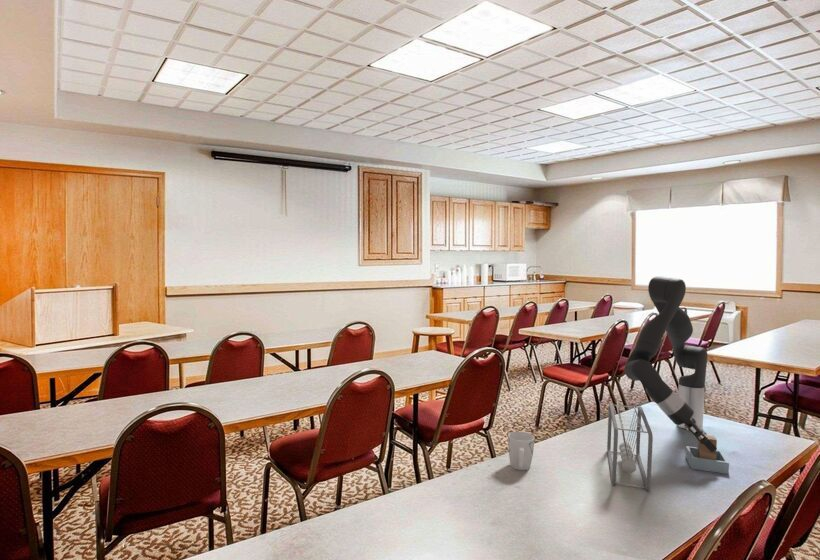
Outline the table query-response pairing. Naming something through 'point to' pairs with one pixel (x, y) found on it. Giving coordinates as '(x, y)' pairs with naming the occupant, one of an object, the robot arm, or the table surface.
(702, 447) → the block
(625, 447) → the newton's cradle
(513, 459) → the mug
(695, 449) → the tray
